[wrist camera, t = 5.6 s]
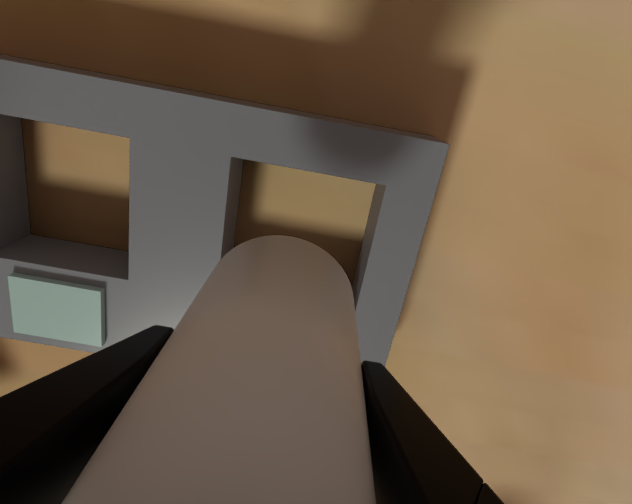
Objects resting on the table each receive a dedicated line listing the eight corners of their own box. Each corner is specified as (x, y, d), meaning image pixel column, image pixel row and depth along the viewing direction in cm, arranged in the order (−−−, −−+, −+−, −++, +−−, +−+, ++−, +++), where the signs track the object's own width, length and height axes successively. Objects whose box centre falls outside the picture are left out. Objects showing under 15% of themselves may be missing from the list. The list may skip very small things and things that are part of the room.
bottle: (338, 376, 12) (354, 987, 4) (201, 353, 12) (-85, 938, 4) (368, 250, 11) (498, 799, 2) (212, 222, 10) (-217, 704, 2)
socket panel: (370, 364, 20) (375, 405, 18) (-1, 301, 20) (-51, 333, 17) (432, 136, 16) (452, 145, 14) (-31, 48, 16) (-103, 40, 13)
